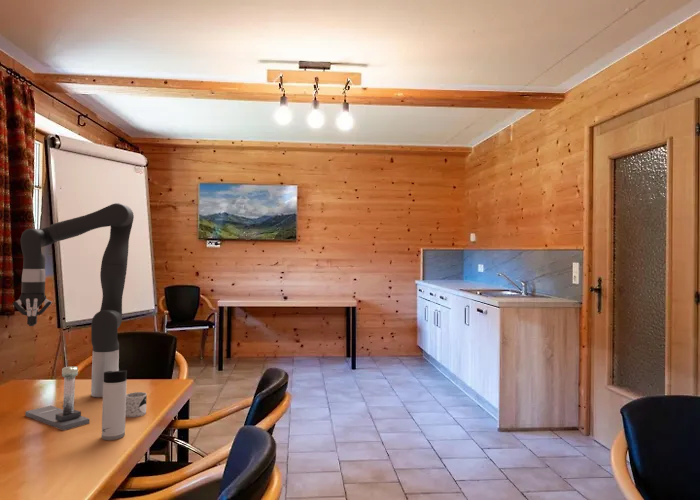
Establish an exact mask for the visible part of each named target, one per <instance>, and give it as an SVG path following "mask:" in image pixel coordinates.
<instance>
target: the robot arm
mask: <svg viewBox="0 0 700 500" xmlns="http://www.w3.org/2000/svg"><path fill="white" fill-rule="evenodd" d="M134 218H135V217H134V212H133V210H132V209H131V208H130V207H129V206H127V205H125V204H123V203H121V202H120V203H119V202H118V203H117V202H116V203H112V204H110V205H107V206H105V207H102V208H100V209H98V210H96V211H93V212H91V213H88V214H87V213H86V214H85V215H81V216H77V217H73V218H70V219H65V220H61V221H59V222H55V223H52V224H51V225H49V226H48V227H44V228H38V229H37V228H27V229H25V230H24V231H22V234H21V237H20V248H21V252H22V257H23V260H22V261H23V263H22V264H23V265H22V274H21V291H20V292H21V294H20V296H19V298H18V299H17V300H15V301H13V302H12V305H13V306H14V307H15V309H17V311H19V313H20V314H21V315H23V316H26V318H27V322H26V323H27V325H28V326H29V327H35V325H37V323H38V316H40V315H43V314H44V313H45V311H46V310H47V309H48V308H49V307H50V306H51V305H52V304H53V301H52V300H49V299H48V298H47V296H46V279H47V278H46V256H45V255H44V254H43V253H42V247H46V246H50V245H52V244H55V243H58V242H59V241H64V240H68V239H71V238H75V237H79V236H81V235H83V234H85V233H88V232H90V231H93V230H95V229H100V228H106V227H110V231H109V240H108V243H107V245H106V247H105V248H104V249H105V250H104V252H103V255H102V259H101V266H100V277H99V278H100V286H101V291H102V299H101V300H102V301H101V304H100V305H101V306H100V310H99V311H98V312H96V313H95V314H94V315H93V317H92V320H91V328H90V329H91V332H90V333H91V336H90V337H91V346H92V359H91V361H92V362H91V363H92V364H91V390H90V393H91V394H90V395H91V397H94V398H103V384H104V383H103V382H104V372H108V371H112V372H114V371H119V370H120V368H119V363H120V361H119V359H120V342H119V340H118V329H119V328H120V326H121V324H122V322H123V297H124V296H123V294H124V290H125V283H126V278H127V277H126V275H127V270H128V269H127V268H128V258H129V247H130V246H129V244H130V243H129V242H130V236H131V231H132V227H133V223H134ZM22 304H23V305H24V307H26V309H25V308H24V307H23V306H22ZM41 305H43V306H42V308H40V306H41ZM39 308H40V310H39Z"/></svg>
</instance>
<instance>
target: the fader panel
mask: <svg viewBox="0 0 700 500" xmlns="http://www.w3.org/2000/svg"><path fill="white" fill-rule="evenodd" d="M59 413H63V408H59V407H56V406H53V405H48V406H43V407H39V408H35V409H29V410H26V411H25V415H24V416H25V417H27V418H30V419H33V420H36V421H37V422H41V423H43V424H46V425H48V426H50V427H53V428H55V429H58V430H61V431H67V430H70V429H74V428H77V427H81V426H85V425H88V424H90V418H89V417H86V416H83V415H81V417H77V418H73V419H70V420H66V421H62V422H61V421H58V420H55V418H56V414H59Z"/></svg>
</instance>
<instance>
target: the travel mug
mask: <svg viewBox="0 0 700 500" xmlns="http://www.w3.org/2000/svg"><path fill="white" fill-rule="evenodd" d="M127 373H128V370H127V369H125V370H124V369H123V370H122V369H119V371H114V372H112V371H108V372H104V382H103V383H104V384H103V397H102V408H101V409H102V410H101V411H102V413H101V414H102V415H101V416H102V417H101V418H102V419H101V439H102V440H103V441H115V440H119V439H121V438H124V436H125V435H126V416H125V415H126V395H127V386H128V385H127V384H128V382H127V381H128V380H127V376H128V375H127Z"/></svg>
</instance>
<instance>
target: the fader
mask: <svg viewBox="0 0 700 500" xmlns="http://www.w3.org/2000/svg"><path fill="white" fill-rule="evenodd" d="M78 375H79V367H78V366H76V365H75V366H65V367H62V369H61V377H63V379H64V381H63V399H62V403H63V405H62V409H63V413H59V414H56V418H55V420H58V421H61V422H62V421H66V420H70V419H73V418H77V417H81V416H82V412H81V410H78V409H75V393H76V391H75V389H76V376H78Z"/></svg>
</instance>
